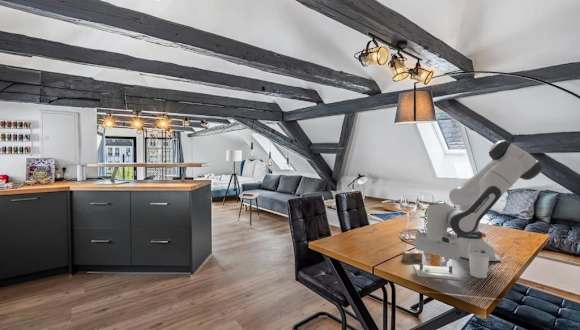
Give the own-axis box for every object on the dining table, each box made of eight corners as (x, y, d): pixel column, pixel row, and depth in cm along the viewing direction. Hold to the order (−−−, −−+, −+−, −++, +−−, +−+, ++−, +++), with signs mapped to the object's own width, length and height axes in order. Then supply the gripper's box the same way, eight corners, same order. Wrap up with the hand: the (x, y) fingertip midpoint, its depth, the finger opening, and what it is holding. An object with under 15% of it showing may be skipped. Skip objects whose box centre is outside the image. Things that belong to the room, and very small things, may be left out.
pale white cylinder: (480, 272, 141) (481, 251, 141) (492, 279, 133) (493, 257, 133) (464, 272, 141) (465, 251, 140) (475, 279, 133) (476, 257, 133)
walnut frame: (418, 260, 157) (418, 250, 157) (422, 262, 153) (422, 253, 153) (402, 260, 157) (402, 251, 157) (405, 263, 153) (405, 253, 153)
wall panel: (452, 270, 143) (452, 262, 143) (460, 280, 131) (460, 271, 131) (413, 266, 147) (413, 259, 147) (418, 276, 136) (418, 268, 135)
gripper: (412, 231, 145) (412, 258, 146) (455, 241, 129) (454, 271, 129) (419, 229, 149) (419, 256, 149) (461, 238, 133) (461, 268, 133)
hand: (435, 263), depth 139 cm, fingers open, 6 cm apart
